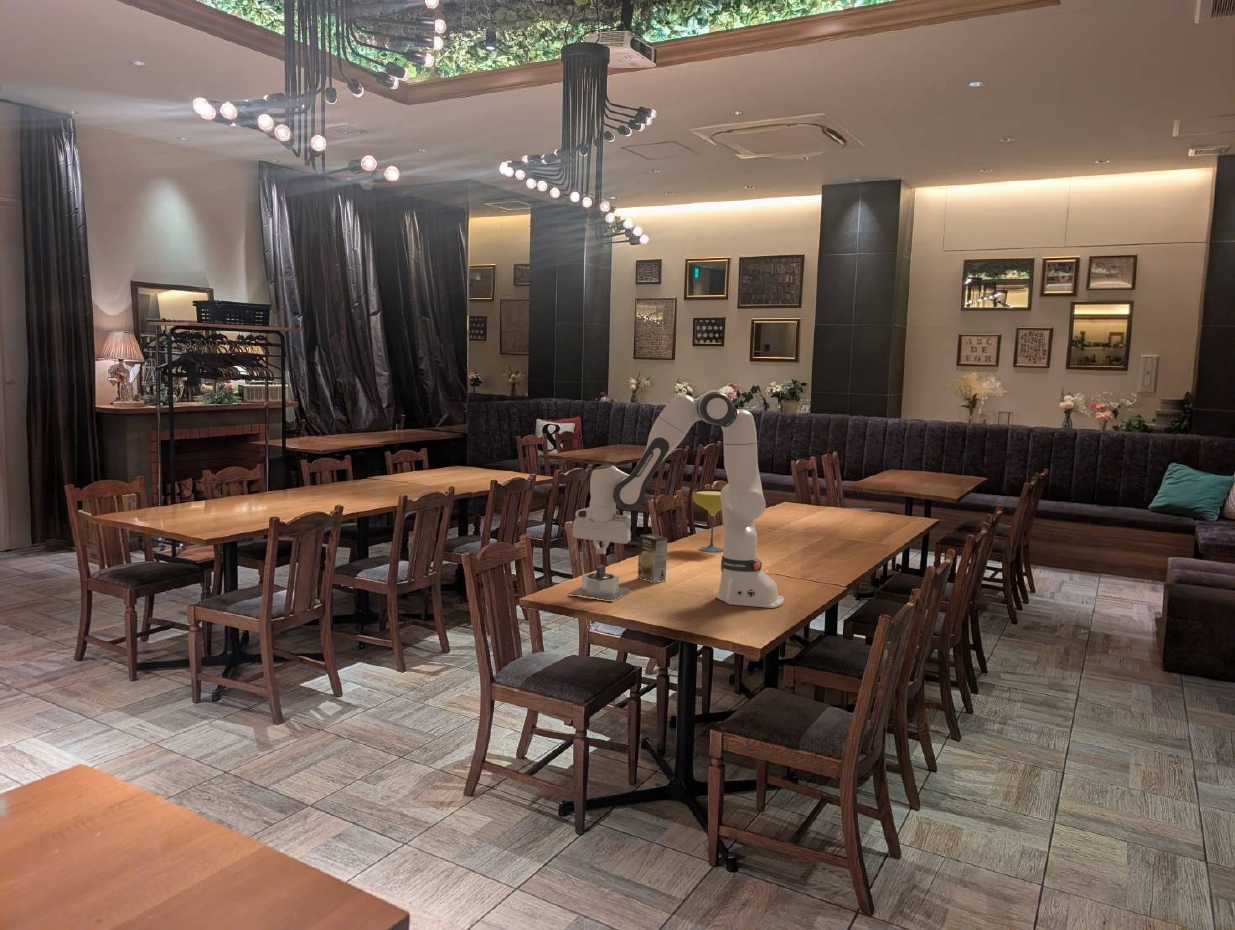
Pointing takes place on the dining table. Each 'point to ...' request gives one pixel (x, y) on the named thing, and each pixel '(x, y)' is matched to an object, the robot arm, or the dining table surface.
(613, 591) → the octagonal nut on plate
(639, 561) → the coffee box
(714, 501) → the cocktail glass
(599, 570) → the cap
